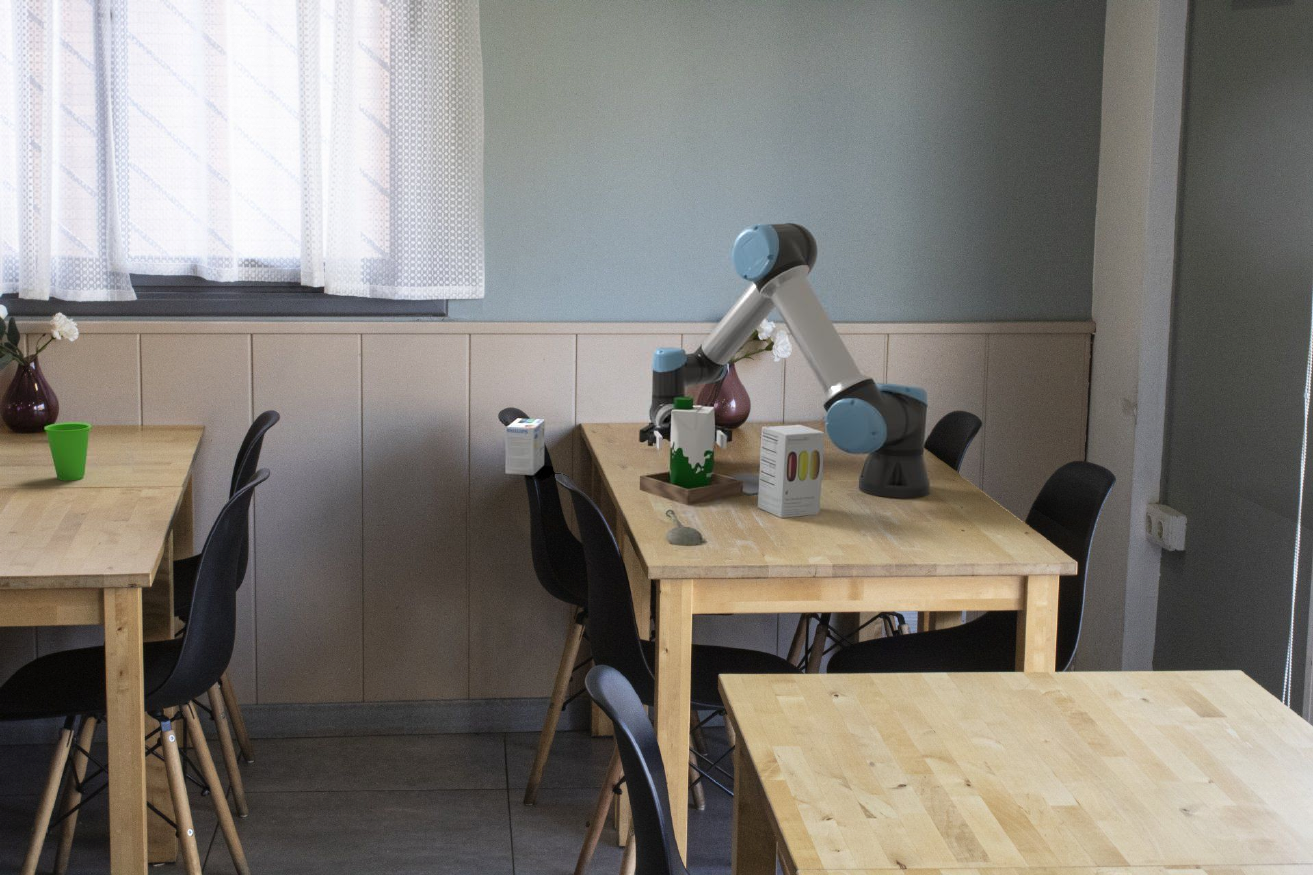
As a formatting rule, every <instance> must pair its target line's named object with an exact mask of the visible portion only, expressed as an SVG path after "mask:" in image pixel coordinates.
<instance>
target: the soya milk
mask: <svg viewBox="0 0 1313 875" xmlns="http://www.w3.org/2000/svg"><path fill="white" fill-rule="evenodd" d="M715 422H716V420H715V406H703V405H699V404H698V405H694V398H693V397H690V396H685V397H675V398H674V407H673V409H672V411H671V442H670V450H669V452H670V453H669V454H670V455H669V471H670V482H671V484H672V485H676V486H679V487H682V488H686V489H692V488H698V487H704V486H710V485H711V480H712V475H713V472H714V467H715V466H714V465H715V442H716V441H715V425H716V423H715Z"/></svg>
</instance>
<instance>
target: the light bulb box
mask: <svg viewBox="0 0 1313 875" xmlns="http://www.w3.org/2000/svg"><path fill="white" fill-rule="evenodd" d="M545 421H546V420H545V419H544V418H543V419H541V418H519V417H518V418H516V419H514V421H512V422H511V423H510V424H508V425H507V426H505V474H507V475H508V474H509V475H520V476H521V475H522V476H523V475H524V476H534V475H535V474H536V473H537V472H538V471H540V469H542V467H544V466H545V427H546V426H545V425H546V424H545V423H546V422H545Z"/></svg>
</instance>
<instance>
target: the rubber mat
mask: <svg viewBox="0 0 1313 875" xmlns="http://www.w3.org/2000/svg"><path fill="white" fill-rule="evenodd" d="M759 475H760V474H756V473H752V472H744V473H738V474H732V475H727V476H728V477H731V478H735V479H739V480H742V481H743V495H746V496H754V495H758V494H759Z"/></svg>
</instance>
